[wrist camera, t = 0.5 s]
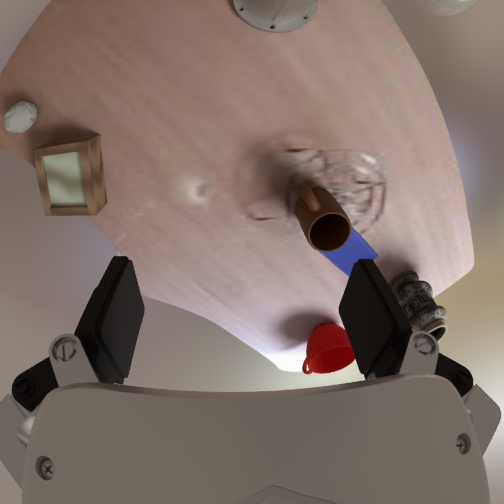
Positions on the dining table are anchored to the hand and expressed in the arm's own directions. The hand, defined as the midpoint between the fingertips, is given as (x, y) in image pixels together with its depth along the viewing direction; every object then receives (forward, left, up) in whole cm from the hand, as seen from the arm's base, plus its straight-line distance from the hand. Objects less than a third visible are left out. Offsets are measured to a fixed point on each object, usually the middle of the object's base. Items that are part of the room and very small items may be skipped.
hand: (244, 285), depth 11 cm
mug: (+10, +14, -35) cm, 39 cm away
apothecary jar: (+31, +45, -35) cm, 65 cm away
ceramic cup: (+49, +26, -35) cm, 66 cm away
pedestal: (+6, -29, -35) cm, 46 cm away
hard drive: (+21, +25, -36) cm, 49 cm away
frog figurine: (-7, -39, -35) cm, 53 cm away
